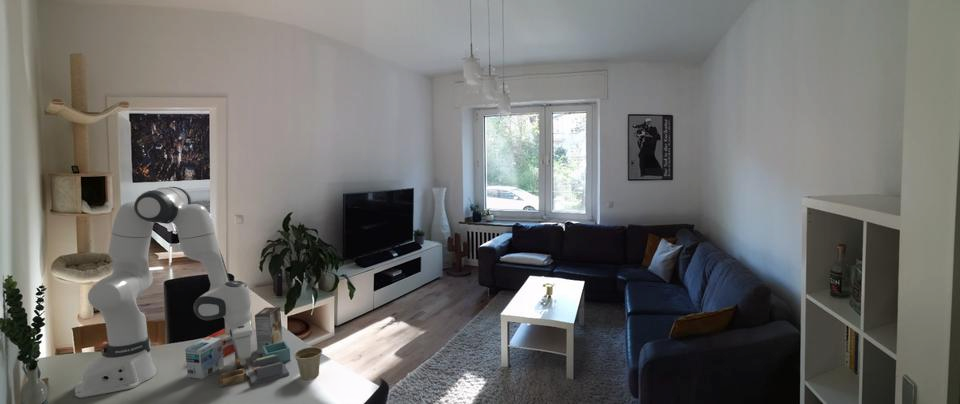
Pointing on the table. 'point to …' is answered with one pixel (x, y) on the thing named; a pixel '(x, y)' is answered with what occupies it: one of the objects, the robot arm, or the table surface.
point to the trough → (232, 377)
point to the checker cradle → (267, 370)
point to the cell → (237, 362)
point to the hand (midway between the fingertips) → (241, 360)
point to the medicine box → (224, 342)
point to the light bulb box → (204, 357)
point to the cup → (278, 351)
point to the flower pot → (308, 361)
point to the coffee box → (268, 327)
